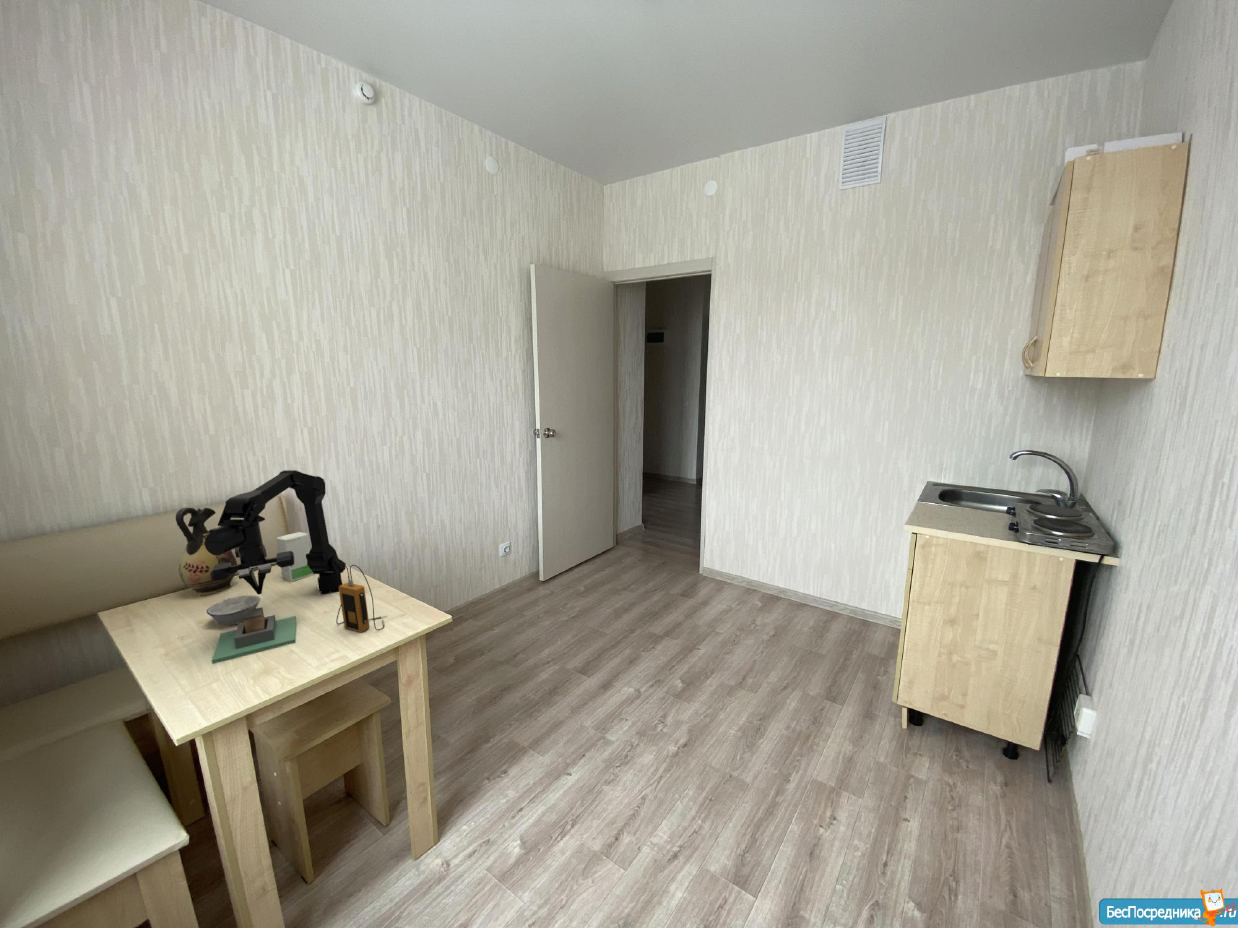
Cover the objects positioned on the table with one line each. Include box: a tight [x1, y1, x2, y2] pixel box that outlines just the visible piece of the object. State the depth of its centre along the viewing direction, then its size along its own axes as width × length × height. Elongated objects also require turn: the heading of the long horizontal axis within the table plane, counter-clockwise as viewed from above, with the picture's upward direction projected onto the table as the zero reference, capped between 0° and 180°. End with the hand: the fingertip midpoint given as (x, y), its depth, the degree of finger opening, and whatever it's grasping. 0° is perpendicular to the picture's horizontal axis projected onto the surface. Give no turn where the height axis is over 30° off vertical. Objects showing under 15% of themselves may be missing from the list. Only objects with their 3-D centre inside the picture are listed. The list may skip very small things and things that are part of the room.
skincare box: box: [276, 531, 315, 583], centre depth 184 cm, size 8×7×16 cm
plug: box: [243, 606, 266, 634], centre depth 141 cm, size 4×6×7 cm
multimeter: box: [335, 562, 387, 633], centre depth 147 cm, size 15×10×20 cm
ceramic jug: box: [175, 507, 238, 596], centre depth 173 cm, size 17×15×30 cm
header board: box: [211, 614, 297, 665], centre depth 141 cm, size 18×16×4 cm
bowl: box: [206, 594, 261, 626], centre depth 154 cm, size 13×13×5 cm
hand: (259, 593), depth 144 cm, fingers closed
